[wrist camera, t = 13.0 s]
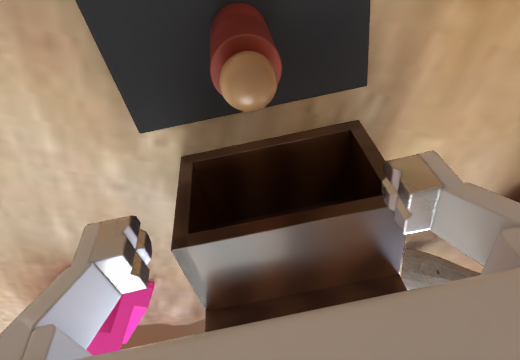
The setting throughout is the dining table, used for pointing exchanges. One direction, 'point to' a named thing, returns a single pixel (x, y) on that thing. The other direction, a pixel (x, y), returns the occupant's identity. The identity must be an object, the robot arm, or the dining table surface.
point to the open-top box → (286, 226)
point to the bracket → (121, 321)
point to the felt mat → (198, 52)
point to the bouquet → (430, 270)
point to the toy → (243, 57)
